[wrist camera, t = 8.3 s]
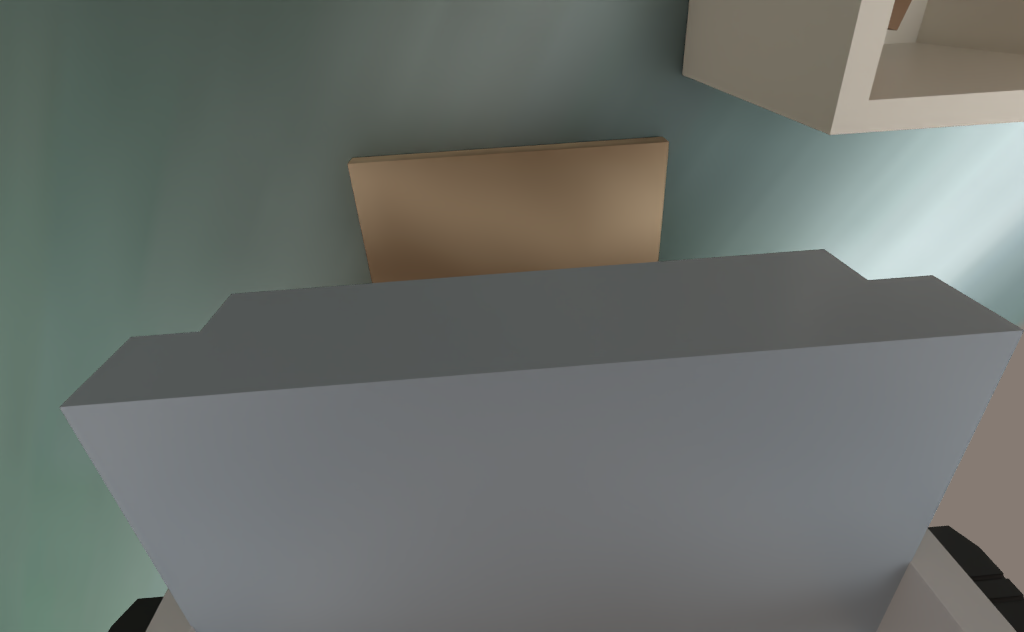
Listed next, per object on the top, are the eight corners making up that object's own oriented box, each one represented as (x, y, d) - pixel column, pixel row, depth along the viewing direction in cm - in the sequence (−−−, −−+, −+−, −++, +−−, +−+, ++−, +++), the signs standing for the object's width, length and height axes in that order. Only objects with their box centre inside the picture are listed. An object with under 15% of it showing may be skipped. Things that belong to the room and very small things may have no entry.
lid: (170, 298, 9) (60, 407, 7) (881, 244, 9) (1023, 330, 7) (330, 681, 15) (302, 812, 13) (759, 641, 15) (813, 761, 13)
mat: (352, 157, 19) (347, 163, 19) (662, 136, 19) (669, 142, 19) (397, 383, 24) (395, 395, 24) (643, 365, 25) (647, 375, 24)
